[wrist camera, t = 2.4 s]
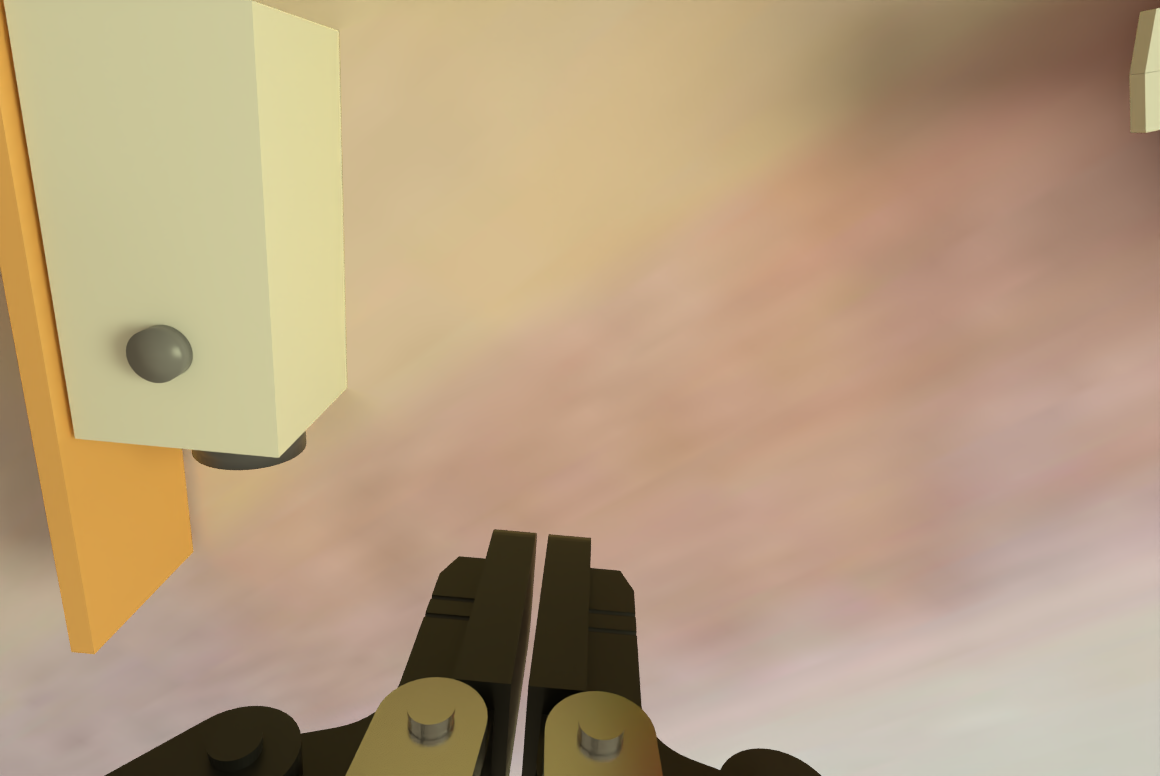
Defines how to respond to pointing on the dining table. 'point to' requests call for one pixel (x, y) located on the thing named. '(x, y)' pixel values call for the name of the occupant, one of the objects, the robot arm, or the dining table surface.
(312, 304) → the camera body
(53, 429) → the side door
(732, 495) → the dining table surface
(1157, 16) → the decorative object
